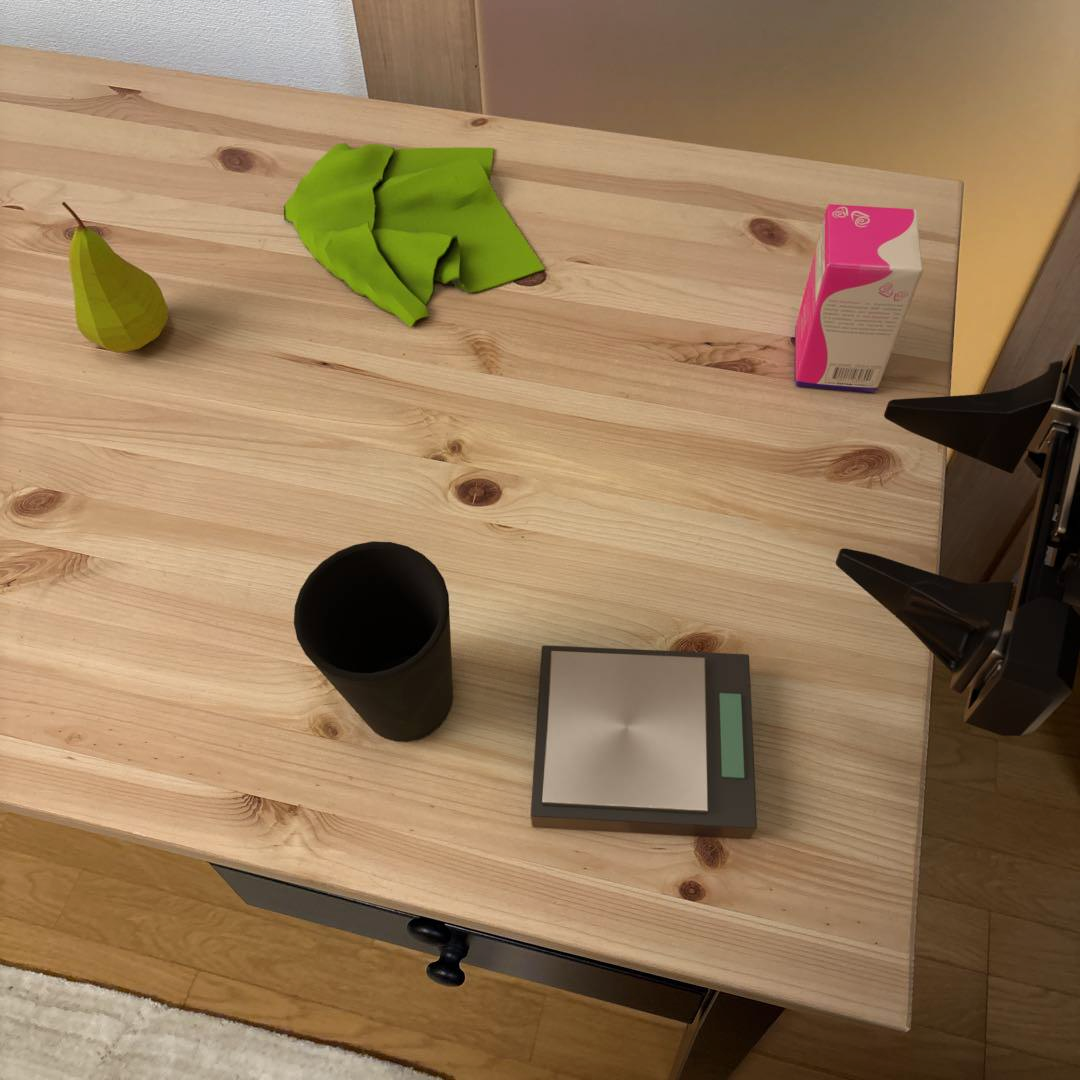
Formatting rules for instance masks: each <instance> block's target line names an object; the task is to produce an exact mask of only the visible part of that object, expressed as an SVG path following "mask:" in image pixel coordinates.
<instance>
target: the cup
mask: <svg viewBox="0 0 1080 1080" xmlns="http://www.w3.org/2000/svg"><path fill="white" fill-rule="evenodd" d="M449 595H450V594H449V591H448V588H447V584H446V581H445V578H444V576H443V575H442V573H441V572H440V571H439V569H438V567H437V566H436V564H435V563H434V562H432V560H430V559H429V558H428V557H427V556H426V555H425V554H423V553H421V552H420V551H418V550H416V549H414V548H413V547H410V546H408V545H404V544H401V543H397V542H393V541H367V542H362V543H356V544H353V545H349V546H347V547H345V548H342V549H340V550H338V551H336V552H334V553H333V554H331V555H330V556H328V557H327V558H326V559H324V560H322V561H321V562H320V563H319V564H318V565H317V566H316V567H315V568H314V569H313V570H312V571H311V572H310V573H309V575H308V576H307V578H306V580H305V581H304V582H303V584H302V586H301V588H300V590H299V592H298V595H297V598H296V601H295V604H294V610H293V611H294V613H293V615H294V616H293V626H294V630H295V636H296V640H297V641H298V642H297V643H299V646H300V647H301V649H302V651H303V653H304V654H305V656H306V657H307V658H308V659H309V660H310V662H311V663H312V664H313V665H314V666H315V667H316V668H317V670H319V672H320V673H321V674H322V675H323V676H324V677H325V678H326V680H327V681H328V682H329V683H330V684H331V685H332V686H333V687H334V689H335V690H336V691H337V692H338V693H339V695H341V697H342V698H343V699H344V700H345V701H346V702H347V703H348V704H349V706H350V707H351V708H352V709H353V710H354V711H355V712H356V714H357V715H358V716H359V717H360V718H361V719H362V720H363V722H364V723H365V724H366V725H367V726H368V727H369V728H370V729H371V730H372V731H373V732H374V734H375V735H376V734H377V736H380V737H381V738H383V739H385V740H388V741H391V742H392V741H393V742H395V743H409V742H415V741H419V740H421V739H423V738H426V737H428V736H430V735H432V734H433V733H434V732H436V731H437V730H438V729H439V728H440V727H441V726H442V724H444V722H445V721H446V720H447V718H448V716H449V714H450V712H451V710H452V707H453V706H452V705H453V701H454V683H453V681H454V680H453V659H452V658H453V657H452V637H451V636H452V635H451V618H450V616H451V615H450V614H451V613H450V596H449Z"/></svg>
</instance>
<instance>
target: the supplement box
mask: <svg viewBox="0 0 1080 1080" xmlns="http://www.w3.org/2000/svg"><path fill="white" fill-rule="evenodd" d="M918 220H919V219H918V210H917V209H916V208H900V207H885V206H884V207H882V206H881V207H880V206H867V205H866V206H865V205H849V204H831V203H828V204H827V206H826V209H825V212H824V216H823V220H822V222H821V223H822V224H821V226H820V227H821V228H820V230H819V234H818V239H817V242H816V243H817V244H816V247H815V250H814V253H813V258H812V262H811V265H810V270H809V273H808V277H807V282H806V284H805V289H804V293H803V295H802V296H803V297H802V301H801V304H800V308H799V312H798V316H797V319H796V324H795V329H794V330H795V331H794V334H795V335H794V385H795V387H798V388H812V389H822V390H823V389H824V390H834V391H846V392H847V391H848V392H858V393H859V392H860V393H868V394H869V393H871V394H876V393H877V391H878V388H879V386H880V385H881V381H882V379H883V376H884V373H885V371H886V368H887V366H888V363H889V360H890V358H891V355H892V353H893V350H894V347H895V345H896V342H897V340H898V337H899V334H900V331H901V328H902V326H903V323H904V321H905V319H906V316H907V313H908V311H909V308H910V305H911V303H912V300H913V297H914V296H915V292H916V290H917V288H918V285H919V282H920V281H921V280H920V279H921V277H922V274H923V270H924V269H923V261H922V251H921V241H920V233H919V232H920V231H919V221H918Z"/></svg>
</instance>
